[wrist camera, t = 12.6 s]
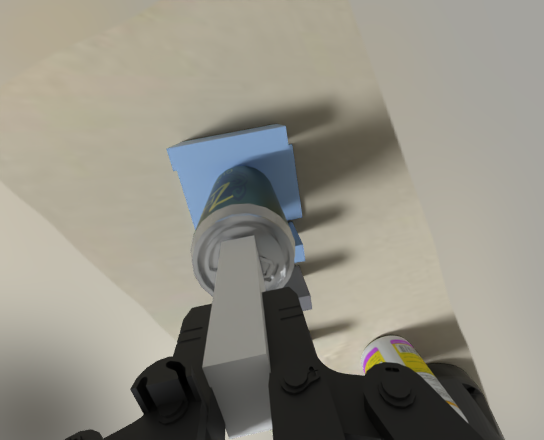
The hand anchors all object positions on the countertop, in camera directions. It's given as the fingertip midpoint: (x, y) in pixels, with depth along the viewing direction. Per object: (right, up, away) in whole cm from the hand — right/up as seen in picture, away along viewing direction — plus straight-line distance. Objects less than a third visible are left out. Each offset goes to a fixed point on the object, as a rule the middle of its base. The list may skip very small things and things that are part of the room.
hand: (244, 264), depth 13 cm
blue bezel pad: (-1, +5, +12) cm, 13 cm away
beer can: (-1, +4, +12) cm, 13 cm away
